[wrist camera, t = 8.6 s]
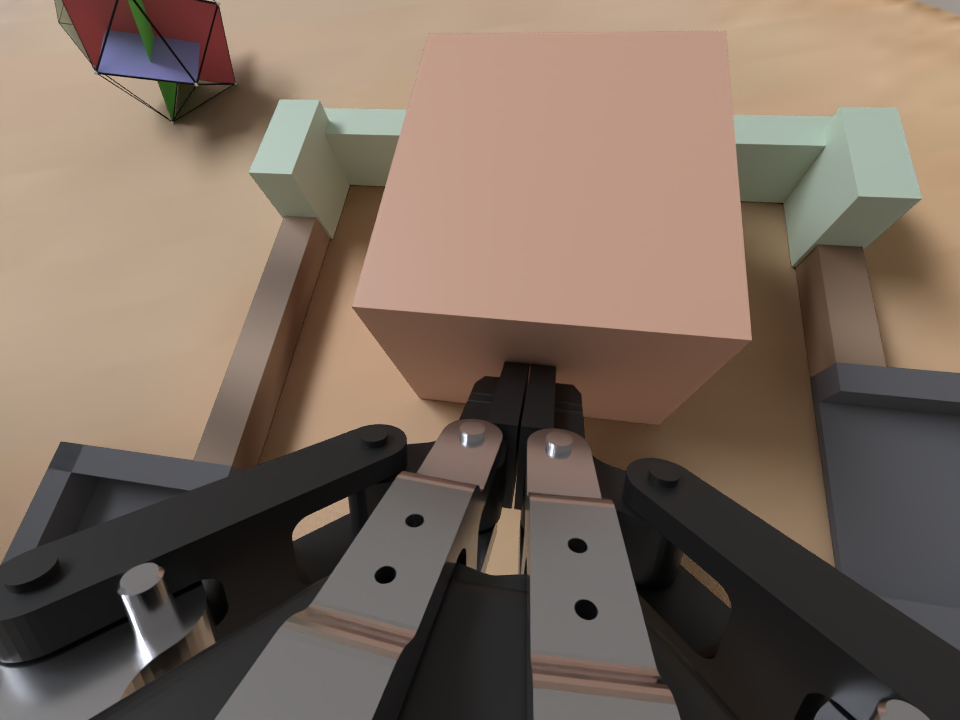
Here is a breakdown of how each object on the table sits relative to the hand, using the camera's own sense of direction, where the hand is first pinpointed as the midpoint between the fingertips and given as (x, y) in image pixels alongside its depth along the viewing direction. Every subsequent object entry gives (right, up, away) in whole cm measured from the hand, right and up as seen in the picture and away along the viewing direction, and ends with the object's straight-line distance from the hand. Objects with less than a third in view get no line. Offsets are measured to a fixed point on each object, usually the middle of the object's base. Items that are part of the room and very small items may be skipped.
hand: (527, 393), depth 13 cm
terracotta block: (+1, +4, +6) cm, 7 cm away
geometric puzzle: (-18, +16, +13) cm, 27 cm away
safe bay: (+2, +8, +7) cm, 11 cm away
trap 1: (+13, -4, +1) cm, 14 cm away
